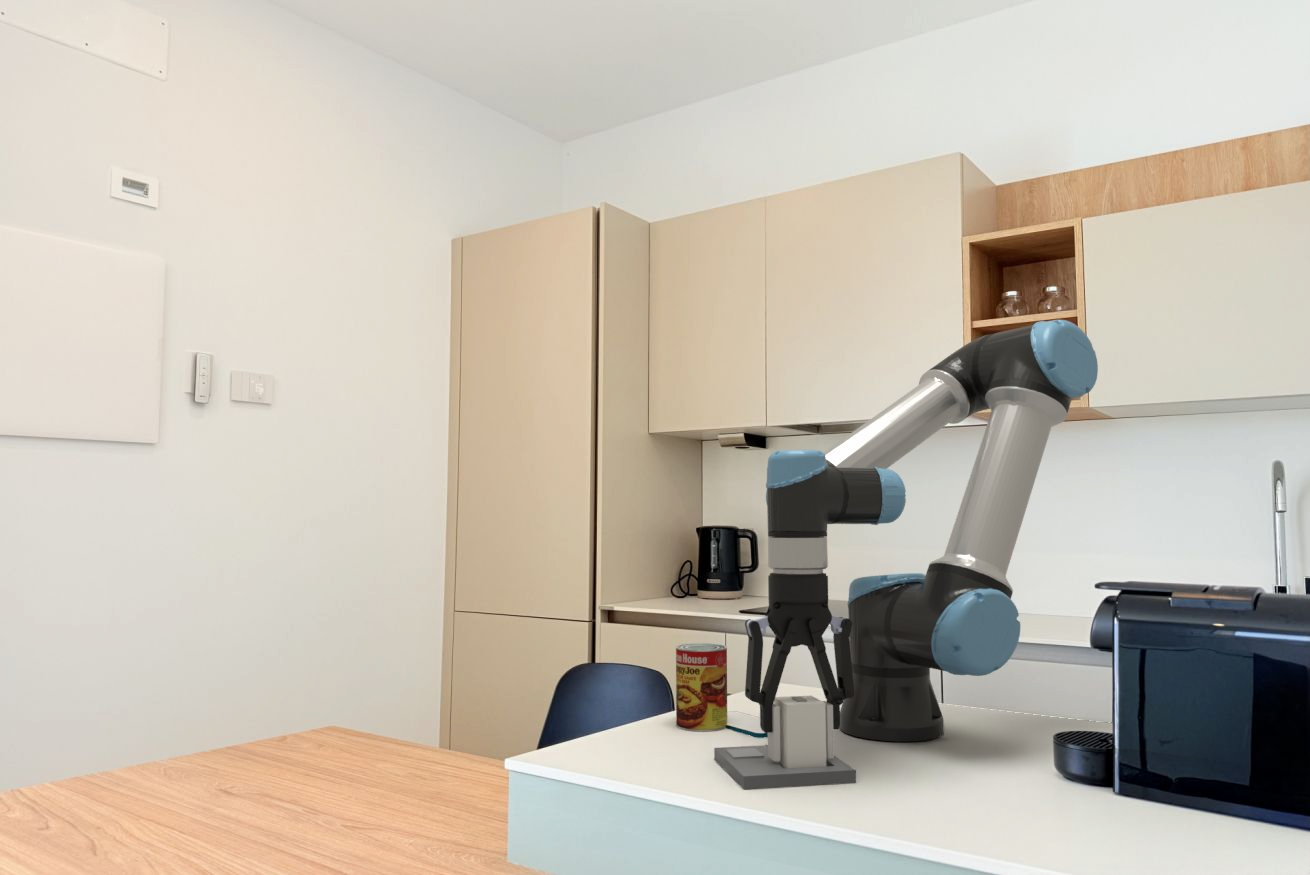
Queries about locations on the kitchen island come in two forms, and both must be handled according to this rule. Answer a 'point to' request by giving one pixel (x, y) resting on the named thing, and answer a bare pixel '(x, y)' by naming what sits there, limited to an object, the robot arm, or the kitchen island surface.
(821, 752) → the block
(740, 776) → the grey square base plate
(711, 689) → the canned food
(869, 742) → the kitchen island surface
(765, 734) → the smartphone
